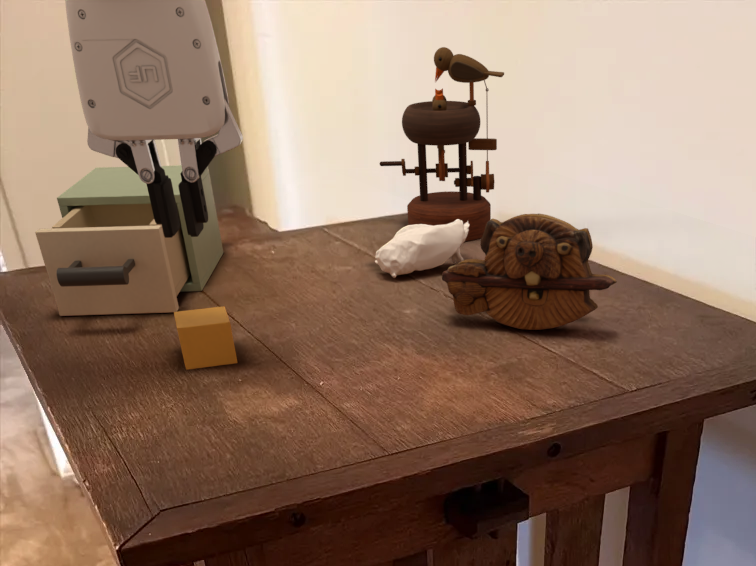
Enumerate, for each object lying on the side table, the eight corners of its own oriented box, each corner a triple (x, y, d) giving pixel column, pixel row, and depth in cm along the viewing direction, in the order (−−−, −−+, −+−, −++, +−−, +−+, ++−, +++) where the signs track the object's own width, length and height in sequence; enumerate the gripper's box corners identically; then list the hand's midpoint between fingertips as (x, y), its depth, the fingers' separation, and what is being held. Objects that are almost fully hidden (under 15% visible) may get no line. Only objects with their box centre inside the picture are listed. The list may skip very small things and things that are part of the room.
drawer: (166, 329, 86) (146, 243, 81) (43, 334, 86) (16, 246, 81) (201, 271, 101) (186, 194, 96) (96, 274, 100) (76, 198, 96)
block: (187, 378, 79) (176, 328, 77) (184, 360, 83) (173, 311, 80) (239, 371, 80) (230, 321, 78) (233, 354, 84) (224, 305, 81)
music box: (492, 216, 122) (495, 39, 108) (510, 246, 114) (516, 58, 100) (378, 223, 119) (367, 43, 106) (389, 253, 111) (377, 63, 98)
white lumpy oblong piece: (441, 270, 107) (366, 262, 102) (457, 211, 103) (379, 199, 98) (461, 289, 105) (385, 282, 99) (479, 229, 101) (400, 218, 95)
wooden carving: (438, 330, 88) (433, 219, 82) (450, 315, 91) (446, 207, 85) (609, 342, 85) (618, 227, 79) (614, 325, 88) (623, 214, 82)
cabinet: (201, 291, 98) (182, 194, 92) (83, 294, 98) (56, 197, 92) (223, 253, 110) (207, 164, 104) (117, 256, 109) (95, 167, 103)
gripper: (-6, -46, 60) (75, 249, 71) (232, -51, 61) (275, 242, 72) (31, -48, 66) (100, 224, 77) (248, -53, 66) (285, 218, 78)
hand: (184, 231), depth 74 cm, fingers closed
